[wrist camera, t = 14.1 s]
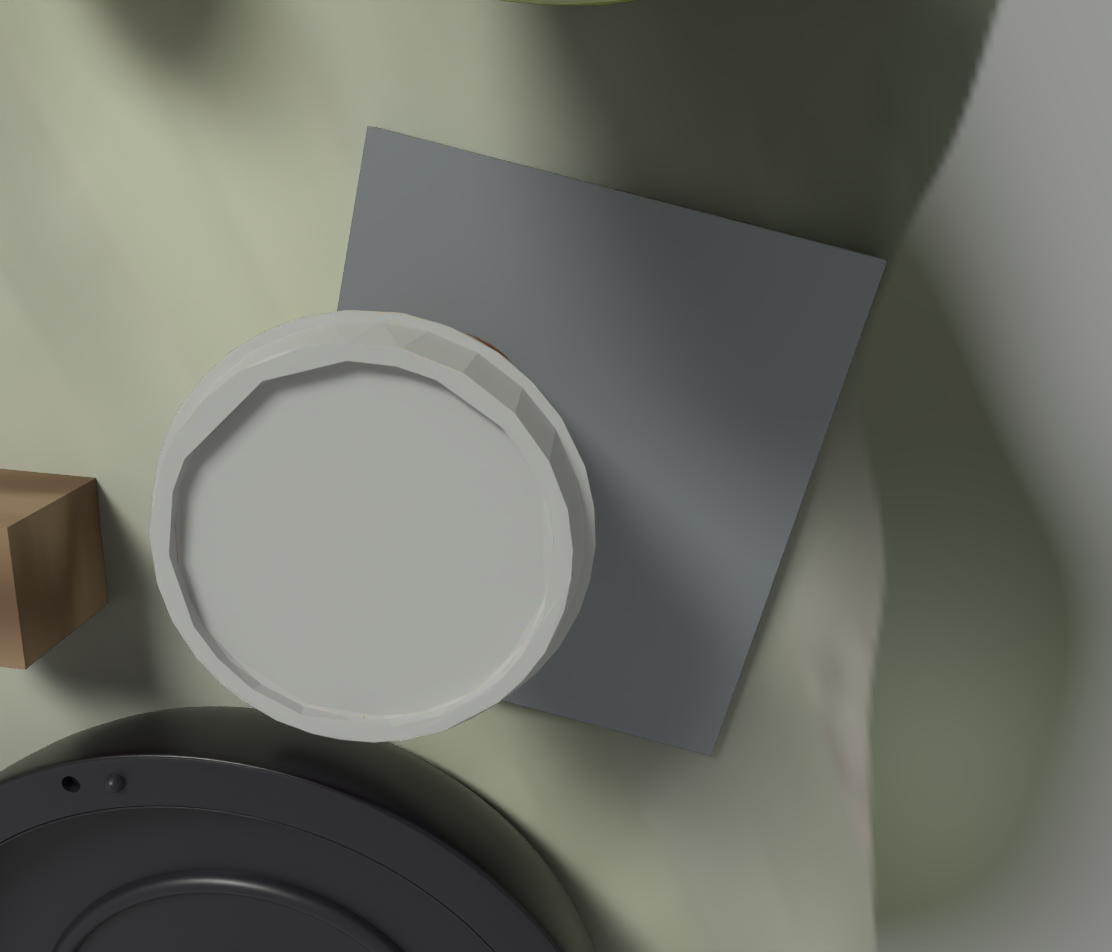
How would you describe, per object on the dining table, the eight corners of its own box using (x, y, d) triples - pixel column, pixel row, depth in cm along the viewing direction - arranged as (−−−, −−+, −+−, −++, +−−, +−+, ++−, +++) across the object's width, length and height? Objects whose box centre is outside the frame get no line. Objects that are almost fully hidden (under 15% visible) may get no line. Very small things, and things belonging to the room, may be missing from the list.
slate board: (376, 127, 29) (367, 126, 28) (879, 257, 29) (887, 260, 28) (292, 628, 35) (282, 641, 34) (709, 740, 35) (711, 756, 34)
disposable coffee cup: (550, 245, 29) (535, 264, 17) (615, 531, 31) (640, 715, 20) (257, 315, 30) (54, 378, 18) (342, 589, 32) (212, 799, 21)
